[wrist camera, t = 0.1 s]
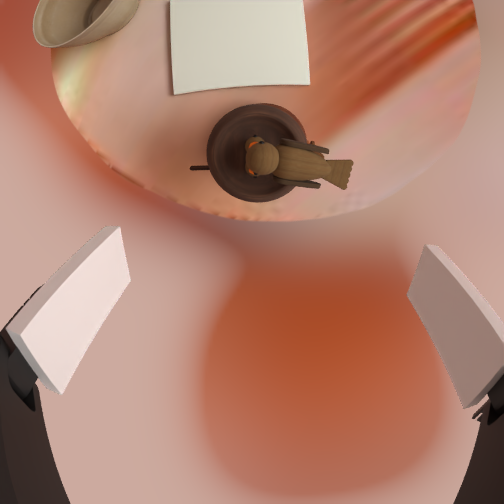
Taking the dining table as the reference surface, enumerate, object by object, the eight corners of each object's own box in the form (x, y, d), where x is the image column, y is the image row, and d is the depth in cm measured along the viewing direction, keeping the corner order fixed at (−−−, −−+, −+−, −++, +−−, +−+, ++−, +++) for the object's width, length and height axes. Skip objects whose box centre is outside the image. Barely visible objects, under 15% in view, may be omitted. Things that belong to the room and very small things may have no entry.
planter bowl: (157, -40, 19) (129, -68, 9) (163, 31, 27) (129, 10, 17) (74, -1, 21) (36, -13, 11) (75, 70, 28) (31, 68, 19)
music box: (310, 95, 31) (361, 101, 14) (317, 171, 37) (361, 246, 20) (196, 111, 33) (132, 135, 16) (212, 184, 39) (173, 266, 22)
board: (172, 1, 24) (170, -1, 23) (300, -11, 23) (300, -13, 22) (175, 95, 31) (173, 94, 31) (309, 85, 30) (310, 84, 29)
